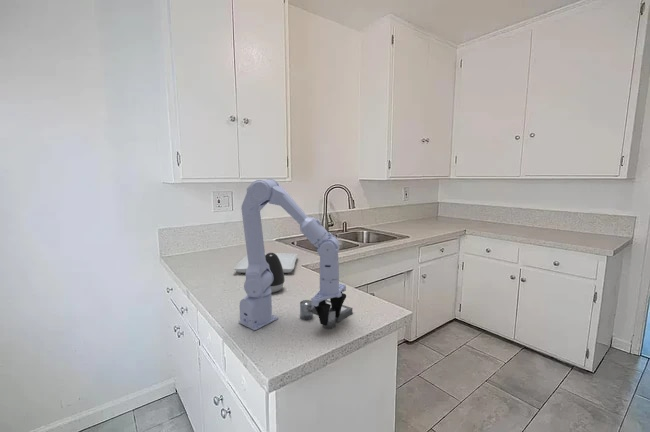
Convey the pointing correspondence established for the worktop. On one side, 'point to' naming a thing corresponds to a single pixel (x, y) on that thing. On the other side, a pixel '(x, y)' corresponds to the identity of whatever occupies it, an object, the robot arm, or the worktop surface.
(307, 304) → the cylinder
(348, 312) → the scale
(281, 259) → the square plate
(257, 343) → the worktop surface
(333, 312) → the cylinder
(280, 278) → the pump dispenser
